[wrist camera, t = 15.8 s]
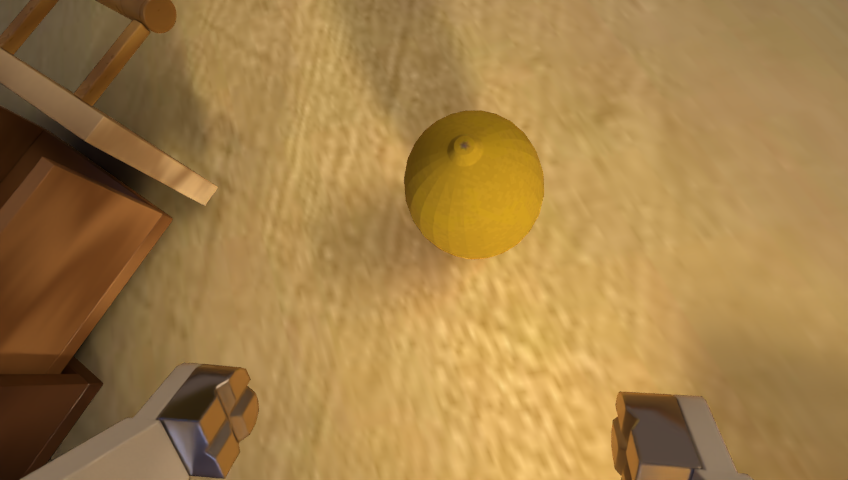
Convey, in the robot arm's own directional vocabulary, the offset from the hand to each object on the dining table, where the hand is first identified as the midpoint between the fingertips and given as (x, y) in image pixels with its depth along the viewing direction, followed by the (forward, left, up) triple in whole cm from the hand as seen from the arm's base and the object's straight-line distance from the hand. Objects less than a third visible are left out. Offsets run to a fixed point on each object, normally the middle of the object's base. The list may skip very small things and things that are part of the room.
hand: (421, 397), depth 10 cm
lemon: (+4, -7, -12) cm, 14 cm away
